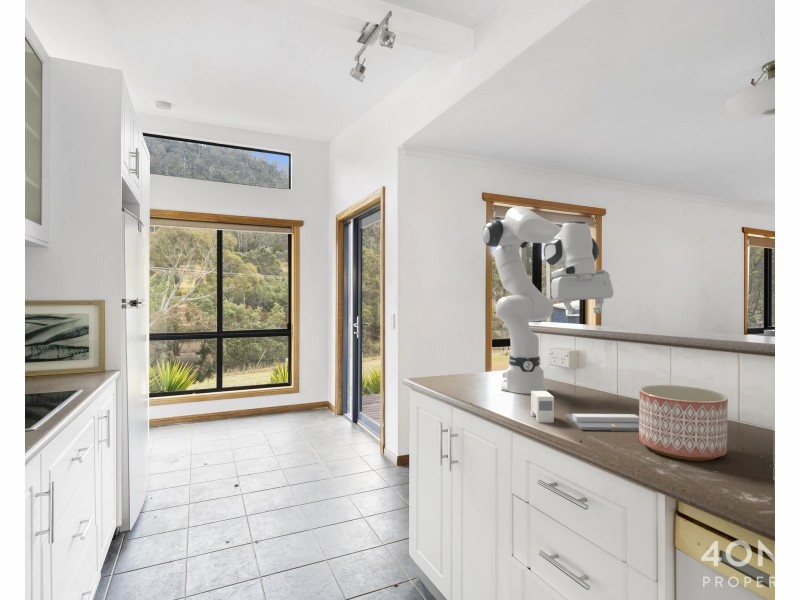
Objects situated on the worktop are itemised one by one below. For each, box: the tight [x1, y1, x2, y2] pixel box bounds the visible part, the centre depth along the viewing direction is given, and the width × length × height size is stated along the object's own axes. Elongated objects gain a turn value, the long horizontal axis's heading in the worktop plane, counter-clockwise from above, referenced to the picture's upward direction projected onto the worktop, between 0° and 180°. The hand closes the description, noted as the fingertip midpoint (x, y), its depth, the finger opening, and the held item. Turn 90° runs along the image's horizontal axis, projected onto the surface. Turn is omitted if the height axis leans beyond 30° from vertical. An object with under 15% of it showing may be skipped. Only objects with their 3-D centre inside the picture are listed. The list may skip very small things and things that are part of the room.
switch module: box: [530, 391, 555, 423], centre depth 144 cm, size 8×5×8 cm, turn 178°
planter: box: [638, 384, 729, 462], centre depth 116 cm, size 19×19×15 cm
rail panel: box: [564, 413, 639, 432], centre depth 138 cm, size 14×20×2 cm
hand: (585, 313), depth 142 cm, fingers open, 8 cm apart
